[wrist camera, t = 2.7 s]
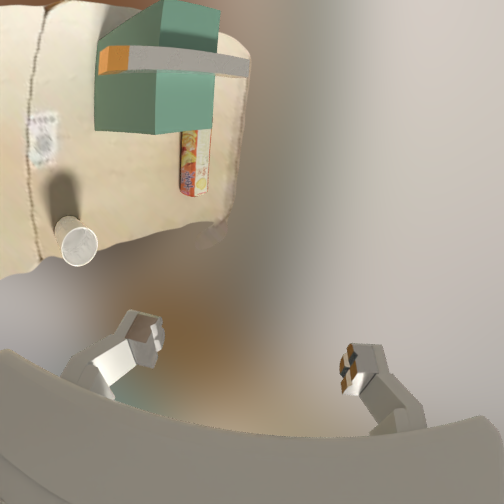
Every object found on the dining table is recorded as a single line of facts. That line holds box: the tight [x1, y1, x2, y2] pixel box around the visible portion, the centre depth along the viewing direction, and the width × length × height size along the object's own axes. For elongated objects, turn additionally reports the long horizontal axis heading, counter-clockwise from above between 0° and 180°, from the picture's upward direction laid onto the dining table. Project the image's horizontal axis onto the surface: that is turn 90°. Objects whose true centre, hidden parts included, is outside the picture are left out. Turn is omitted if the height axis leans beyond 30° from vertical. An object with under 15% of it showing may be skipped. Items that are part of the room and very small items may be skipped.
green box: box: [94, 0, 220, 135], centre depth 37 cm, size 10×20×26 cm, turn 175°
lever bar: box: [98, 46, 249, 78], centre depth 28 cm, size 22×3×3 cm, turn 85°
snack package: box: [180, 119, 213, 197], centre depth 66 cm, size 21×7×7 cm, turn 173°
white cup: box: [54, 215, 98, 266], centre depth 47 cm, size 8×8×10 cm
